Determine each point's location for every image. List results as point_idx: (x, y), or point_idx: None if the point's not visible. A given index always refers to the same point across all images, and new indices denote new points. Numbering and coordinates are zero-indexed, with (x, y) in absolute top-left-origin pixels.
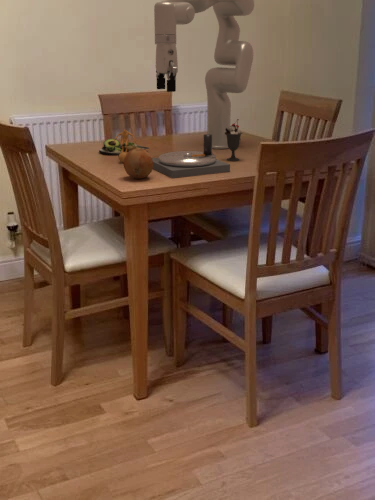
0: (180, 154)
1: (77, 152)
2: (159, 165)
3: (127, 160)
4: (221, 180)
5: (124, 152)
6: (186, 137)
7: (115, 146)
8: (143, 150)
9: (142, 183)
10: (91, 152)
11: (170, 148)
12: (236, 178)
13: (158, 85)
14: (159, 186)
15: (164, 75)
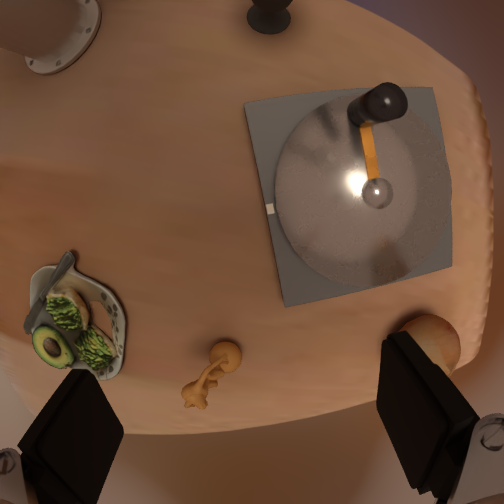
0: (336, 206)
1: None
2: (380, 285)
3: None
4: (486, 156)
5: (228, 365)
6: None
7: (59, 338)
8: (455, 359)
9: None
10: None
11: (46, 176)
12: (478, 114)
13: (112, 450)
14: (479, 299)
15: (26, 480)
